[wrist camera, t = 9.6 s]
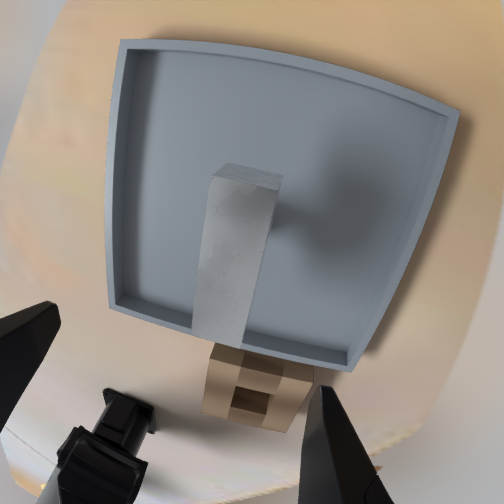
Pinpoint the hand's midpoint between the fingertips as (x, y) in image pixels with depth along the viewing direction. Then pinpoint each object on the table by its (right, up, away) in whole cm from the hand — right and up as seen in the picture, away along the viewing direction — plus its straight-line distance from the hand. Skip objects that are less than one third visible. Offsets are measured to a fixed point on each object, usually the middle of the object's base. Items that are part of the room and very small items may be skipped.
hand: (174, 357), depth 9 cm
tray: (+3, +6, +11) cm, 12 cm away
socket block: (+3, -8, +18) cm, 20 cm away
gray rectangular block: (+2, +5, +10) cm, 12 cm away
